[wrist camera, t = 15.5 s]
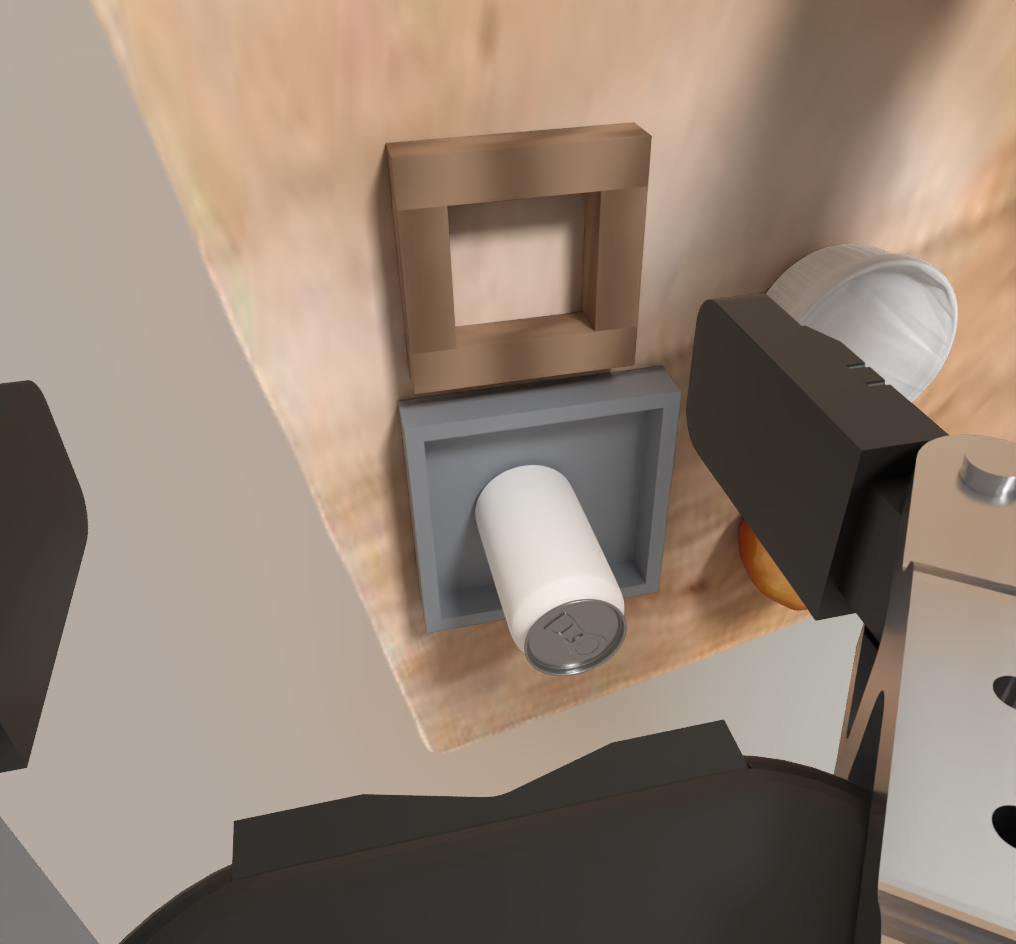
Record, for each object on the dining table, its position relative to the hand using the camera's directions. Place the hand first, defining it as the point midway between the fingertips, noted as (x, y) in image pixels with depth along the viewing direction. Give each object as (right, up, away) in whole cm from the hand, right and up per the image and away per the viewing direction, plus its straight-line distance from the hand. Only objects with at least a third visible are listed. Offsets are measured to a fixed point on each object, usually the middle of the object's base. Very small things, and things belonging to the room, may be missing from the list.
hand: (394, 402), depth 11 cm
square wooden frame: (+2, +11, +35) cm, 36 cm away
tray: (+3, -2, +44) cm, 44 cm away
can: (+2, -3, +44) cm, 44 cm away
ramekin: (+20, +9, +42) cm, 47 cm away
